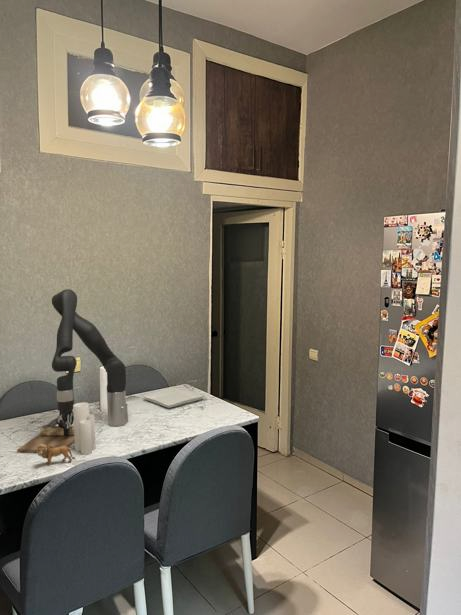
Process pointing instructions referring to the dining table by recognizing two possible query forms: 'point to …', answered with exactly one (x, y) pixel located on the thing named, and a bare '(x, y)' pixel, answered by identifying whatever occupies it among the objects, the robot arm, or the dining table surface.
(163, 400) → the square plate
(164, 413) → the dining table surface
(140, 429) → the dining table surface
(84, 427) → the white pillar candles
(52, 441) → the walnut board
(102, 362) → the robot arm
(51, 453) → the lion figurine
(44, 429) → the maple link
